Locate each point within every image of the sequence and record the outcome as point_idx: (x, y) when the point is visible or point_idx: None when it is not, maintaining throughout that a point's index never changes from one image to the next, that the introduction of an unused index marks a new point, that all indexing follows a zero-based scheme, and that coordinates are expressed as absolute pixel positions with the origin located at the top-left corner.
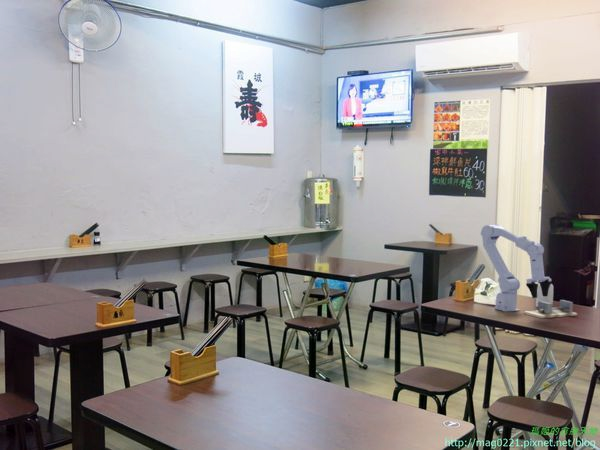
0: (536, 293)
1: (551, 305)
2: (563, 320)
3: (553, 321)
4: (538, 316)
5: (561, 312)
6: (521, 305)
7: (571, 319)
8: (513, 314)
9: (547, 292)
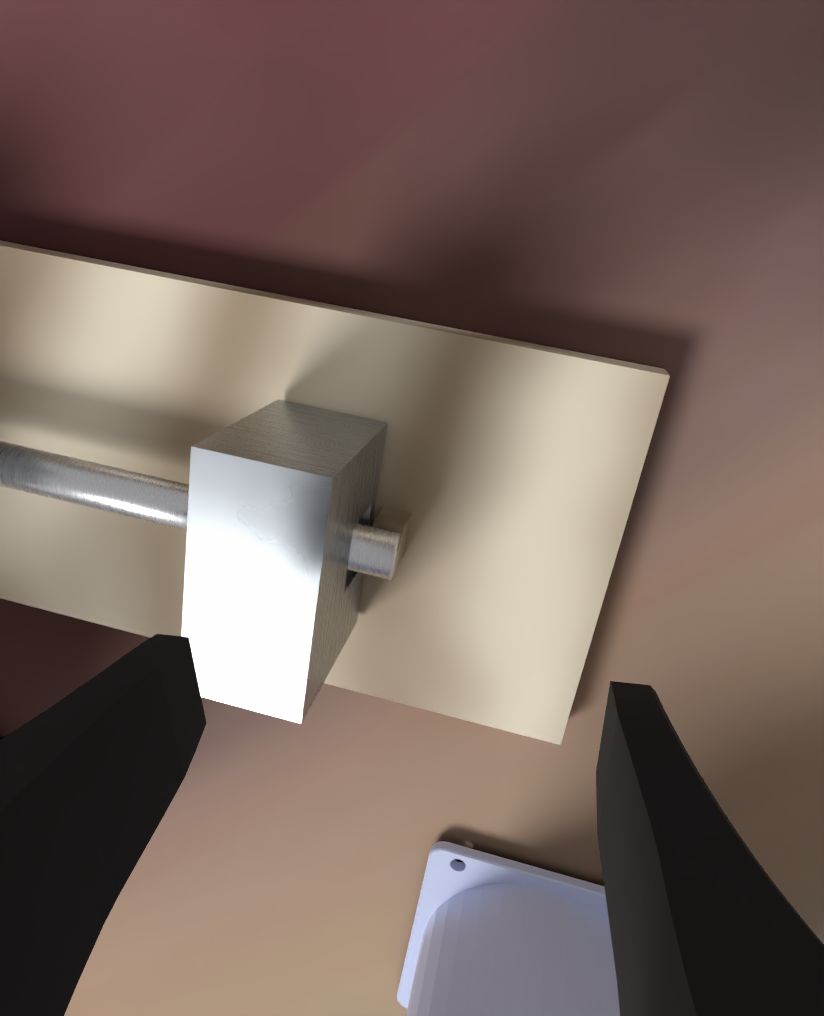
0: (676, 776)
1: (235, 439)
2: (423, 5)
3: (711, 28)
4: (653, 417)
5: (37, 386)
6: (139, 961)
7: (197, 3)
8: (784, 769)
9: (103, 692)
